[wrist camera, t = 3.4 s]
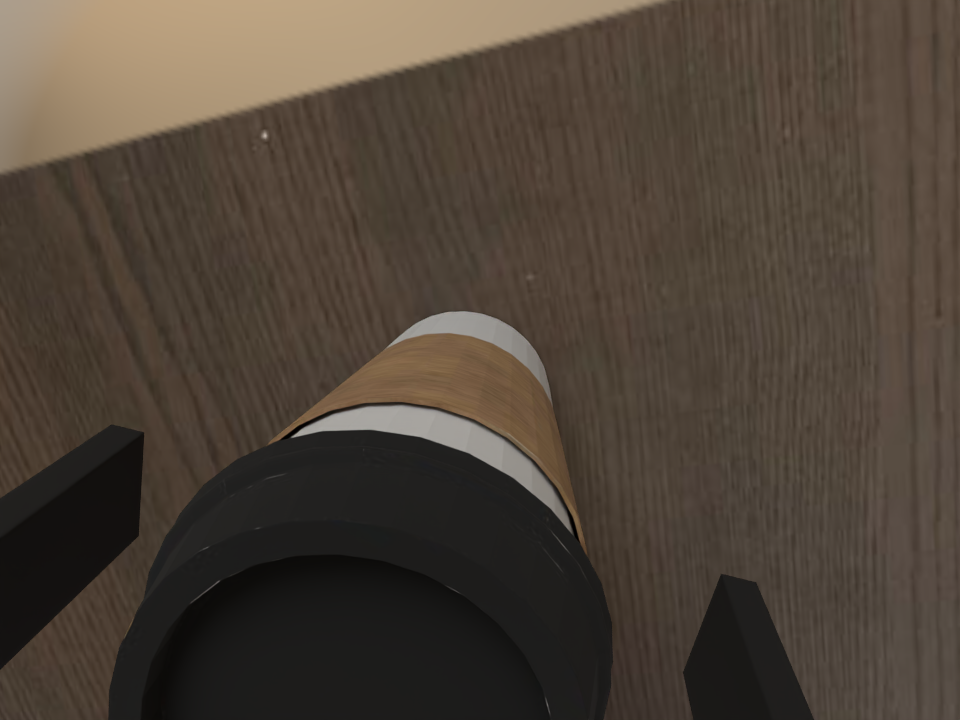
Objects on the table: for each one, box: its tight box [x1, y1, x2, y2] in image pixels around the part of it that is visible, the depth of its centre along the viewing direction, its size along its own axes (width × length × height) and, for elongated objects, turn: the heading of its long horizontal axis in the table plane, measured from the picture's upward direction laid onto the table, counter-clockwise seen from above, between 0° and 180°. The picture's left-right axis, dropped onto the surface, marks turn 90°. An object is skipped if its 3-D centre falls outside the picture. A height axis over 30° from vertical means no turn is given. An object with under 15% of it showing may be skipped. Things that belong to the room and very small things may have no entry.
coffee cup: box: [108, 311, 613, 720], centre depth 17 cm, size 8×8×15 cm
